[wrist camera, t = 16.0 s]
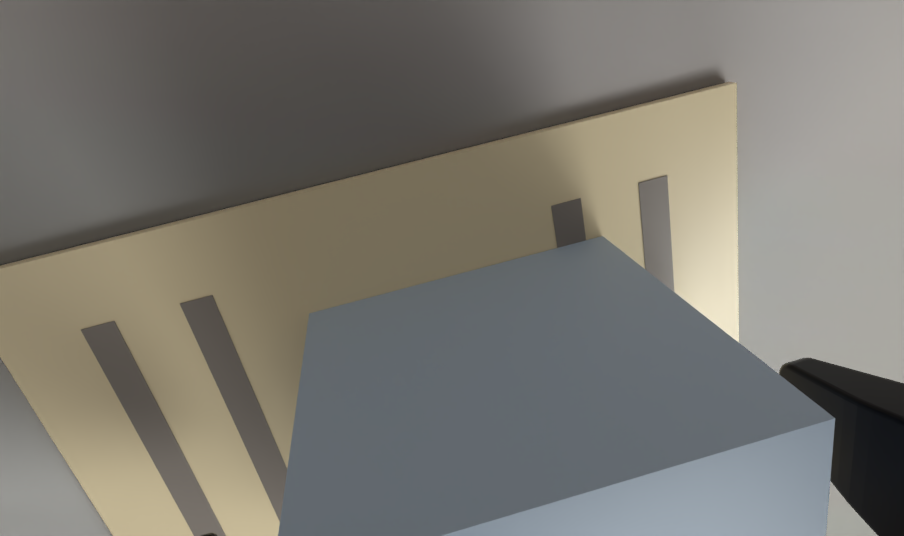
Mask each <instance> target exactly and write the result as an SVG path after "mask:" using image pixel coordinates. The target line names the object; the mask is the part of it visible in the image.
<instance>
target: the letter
mask: <svg viewBox="0 0 904 536" xmlns="http://www.w3.org/2000/svg"><path fill="white" fill-rule="evenodd" d="M601 236H603V237H605V238H606V239H607V240H608V241H610V242H611V243H612V244H613V245H615V246H616V247H617V248H619V249H620V250H621V251H622V252H624V253H625V254H626V255H628V256H629V257H630V258H631V259H633V260H634V261H635V262H636V263H638V264H639V265H640V266H642V267H643V268H644V269H645V270H647V271H648V272H649V273H650V274H652V275H653V276H654V277H656V278H657V279H658V280H659V281H661V282H662V283H663V284H665V285H666V286H667V287H668V288H670V289H671V290H672V291H673V292H675V293H676V294H677V295H679V296H680V297H681V298H682V299H684V300H685V301H686V302H687V303H689V304H690V305H691V306H693V307H694V308H695V309H696V310H698V311H699V312H700V313H701V314H703V315H704V316H705V317H707V318H708V319H709V320H710V321H712V322H713V323H714V324H716V325H717V326H718V327H719V328H721V329H722V330H723V331H724V332H726V333H727V334H728V335H730V336H731V337H732V338H733V339H735V340H736V341H737V342H738V343H739V304H738V190H737V83H734V82H726V83H722V84H718V85H715V86H711V87H707V88H703V89H699V90H695V91H691V92H687V93H683V94H679V95H675V96H671V97H667V98H663V99H659V100H655V101H651V102H647V103H643V104H639V105H635V106H631V107H627V108H623V109H619V110H615V111H611V112H607V113H604V114H600V115H596V116H592V117H588V118H584V119H580V120H576V121H572V122H568V123H564V124H560V125H556V126H552V127H548V128H544V129H540V130H536V131H532V132H528V133H524V134H520V135H516V136H512V137H508V138H504V139H500V140H496V141H492V142H489V143H485V144H481V145H477V146H473V147H469V148H465V149H461V150H457V151H453V152H449V153H445V154H441V155H437V156H433V157H429V158H425V159H421V160H417V161H413V162H409V163H405V164H401V165H397V166H393V167H389V168H385V169H381V170H377V171H374V172H370V173H366V174H362V175H358V176H354V177H350V178H346V179H342V180H338V181H334V182H330V183H326V184H322V185H318V186H314V187H310V188H306V189H302V190H298V191H294V192H290V193H286V194H282V195H278V196H274V197H270V198H266V199H262V200H259V201H255V202H251V203H247V204H243V205H239V206H235V207H231V208H227V209H223V210H219V211H215V212H211V213H207V214H203V215H199V216H195V217H191V218H187V219H183V220H179V221H175V222H171V223H167V224H163V225H159V226H155V227H151V228H148V229H144V230H140V231H136V232H132V233H128V234H124V235H120V236H116V237H112V238H108V239H104V240H100V241H96V242H92V243H88V244H84V245H80V246H76V247H72V248H68V249H64V250H60V251H56V252H52V253H48V254H44V255H40V256H36V257H33V258H29V259H25V260H21V261H17V262H13V263H9V264H5V265H1V266H0V357H1V359H2V361H3V362H4V364H5V365H6V367H7V369H8V370H9V372H10V373H11V375H12V376H13V378H14V380H15V381H16V383H17V384H18V386H19V388H20V389H21V391H22V392H23V394H24V395H25V397H26V399H27V400H28V402H29V403H30V405H31V407H32V408H33V410H34V411H35V413H36V415H37V416H38V418H39V419H40V421H41V422H42V424H43V426H44V427H45V429H46V430H47V432H48V434H49V435H50V437H51V438H52V440H53V441H54V443H55V445H56V446H57V448H58V449H59V451H60V453H61V454H62V456H63V457H64V459H65V460H66V462H67V464H68V465H69V467H70V468H71V470H72V472H73V473H74V475H75V476H76V478H77V479H78V481H79V483H80V484H81V486H82V487H83V489H84V491H85V492H86V494H87V495H88V497H89V499H90V500H91V502H92V503H93V505H94V506H95V508H96V510H97V511H98V513H99V514H100V516H101V518H102V519H103V521H104V522H105V524H106V525H107V527H108V529H109V530H110V532H111V533H112V535H113V536H201V535H204V534H207V533H216V534H217V535H218V536H278V532H279V525H280V518H281V511H282V504H283V497H284V490H285V482H286V475H287V468H288V461H289V454H290V447H291V440H292V432H293V425H294V418H295V411H296V404H297V397H298V390H299V382H300V375H301V368H302V361H303V354H304V347H305V340H306V333H307V325H308V318H309V313H313V312H317V311H320V310H324V309H328V308H332V307H336V306H339V305H343V304H347V303H351V302H355V301H358V300H362V299H366V298H370V297H373V296H377V295H381V294H385V293H389V292H392V291H396V290H400V289H404V288H408V287H411V286H415V285H419V284H423V283H426V282H430V281H434V280H438V279H442V278H445V277H449V276H453V275H457V274H460V273H464V272H468V271H472V270H476V269H479V268H483V267H487V266H491V265H495V264H498V263H502V262H506V261H510V260H513V259H517V258H521V257H525V256H529V255H532V254H536V253H540V252H544V251H548V250H551V249H555V248H559V247H563V246H566V245H570V244H574V243H578V242H582V241H585V240H589V239H593V238H597V237H601Z"/></svg>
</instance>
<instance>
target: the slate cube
mask: <svg viewBox="0 0 904 536" xmlns="http://www.w3.org/2000/svg"><path fill="white" fill-rule="evenodd" d="M834 427H835V418H834V417H833V416H832V415H830V414H829V413H828V412H826V411H825V410H824V409H823V408H821V407H820V406H819V405H818V404H816V403H815V402H814V401H812V400H811V399H810V398H809V397H807V396H806V395H805V394H804V393H802V392H801V391H800V390H798V389H797V388H796V387H795V386H793V385H792V384H791V383H789V382H788V381H787V380H786V379H784V378H783V377H782V376H781V375H779V374H778V373H777V372H775V371H774V370H773V369H772V368H770V367H769V366H768V365H767V364H765V363H764V362H763V361H761V360H760V359H759V358H758V357H756V356H755V355H754V354H753V353H751V352H750V351H749V350H747V349H746V348H745V347H744V346H742V345H741V344H740V343H738V342H737V341H736V340H735V339H733V338H732V337H731V336H730V335H728V334H727V333H726V332H724V331H723V330H722V329H721V328H719V327H718V326H717V325H716V324H714V323H713V322H712V321H710V320H709V319H708V318H707V317H705V316H704V315H703V314H701V313H700V312H699V311H698V310H696V309H695V308H694V307H693V306H691V305H690V304H689V303H687V302H686V301H685V300H684V299H682V298H681V297H680V296H679V295H677V294H676V293H675V292H673V291H672V290H671V289H670V288H668V287H667V286H666V285H665V284H663V283H662V282H661V281H659V280H658V279H657V278H656V277H654V276H653V275H652V274H650V273H649V272H648V271H647V270H645V269H644V268H643V267H642V266H640V265H639V264H638V263H636V262H635V261H634V260H633V259H631V258H630V257H629V256H628V255H626V254H625V253H624V252H622V251H621V250H620V249H619V248H617V247H616V246H615V245H613V244H612V243H611V242H610V241H608V240H607V239H606V238H605V237H603V236H601V237H597V238H593V239H589V240H585V241H582V242H578V243H574V244H570V245H566V246H563V247H559V248H555V249H551V250H548V251H544V252H540V253H536V254H532V255H529V256H525V257H521V258H517V259H513V260H510V261H506V262H502V263H498V264H495V265H491V266H487V267H483V268H479V269H476V270H472V271H468V272H464V273H460V274H457V275H453V276H449V277H445V278H442V279H438V280H434V281H430V282H426V283H423V284H419V285H415V286H411V287H408V288H404V289H400V290H396V291H392V292H389V293H385V294H381V295H377V296H373V297H370V298H366V299H362V300H358V301H355V302H351V303H347V304H343V305H339V306H336V307H332V308H328V309H324V310H320V311H317V312H313V313H309V318H308V325H307V333H306V340H305V347H304V354H303V361H302V368H301V375H300V382H299V390H298V397H297V404H296V411H295V418H294V425H293V432H292V440H291V447H290V454H289V461H288V468H287V475H286V482H285V490H284V497H283V504H282V511H281V518H280V525H279V532H278V536H826V528H827V515H828V503H829V490H830V478H831V465H832V453H833V440H834Z"/></svg>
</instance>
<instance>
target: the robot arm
mask: <svg viewBox="0 0 904 536" xmlns="http://www.w3.org/2000/svg"><path fill="white" fill-rule="evenodd" d="M779 375H781V376H782V377H783V378H784V379H786V380H787V381H788V382H789V383H791V384H792V385H793V386H795V387H796V388H797V389H798V390H800V391H801V392H802V393H804V394H805V395H806V396H807V397H809V398H810V399H811V400H812V401H814V402H815V403H816V404H818V405H819V406H820V407H821V408H823V409H824V410H825V411H826V412H828V413H829V414H830V415H832V416H833V417H834V418H835V427H834V440H833V453H832V465H831V478H830V481H831V482H832V483H833V485H834V486H835V487H836V488H837V490H838V491H839V492H840V493H841V495H842V496H843V497H844V498H845V499H846V501H847V502H848V503H849V504H850V505H851V506H852V508H853V509H854V510H855V511H856V512H857V513H858V514H859V515H860V517H861V518H862V519H863V520H864V521H865V522H866V523H867V524H868V525H869V526H870V527H871V528H872V529H873V531H874V532H875V533H876V534H877V535H878V536H904V383H900V382H896V381H893V380H889V379H885V378H882V377H878V376H874V375H871V374H867V373H863V372H860V371H856V370H852V369H849V368H845V367H841V366H838V365H834V364H830V363H827V362H823V361H819V360H816V359H812V358H802V359H799V360H795V361H792V362H788V363H785V364H784V365H782V367H781V369H780V372H779ZM201 536H218V535H217V534H216V533H207V534H204V535H201Z"/></svg>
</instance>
